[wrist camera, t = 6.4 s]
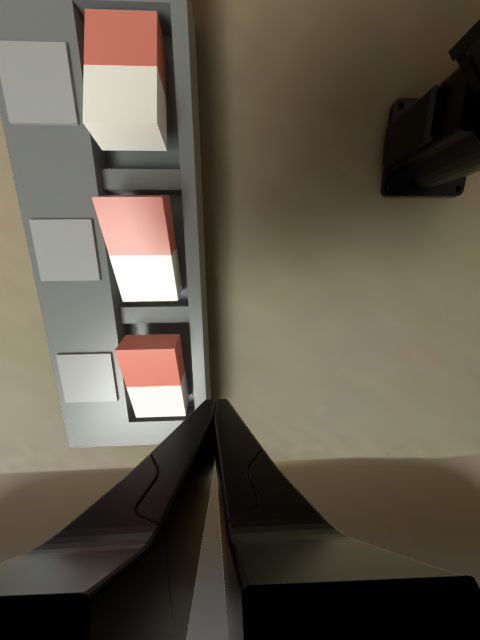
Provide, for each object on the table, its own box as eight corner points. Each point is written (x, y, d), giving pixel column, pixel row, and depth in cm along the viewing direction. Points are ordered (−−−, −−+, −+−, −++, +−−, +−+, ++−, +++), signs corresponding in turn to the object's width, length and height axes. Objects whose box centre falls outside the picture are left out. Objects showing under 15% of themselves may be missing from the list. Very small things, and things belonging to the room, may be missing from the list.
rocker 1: (166, 52, 14) (156, 10, 12) (166, 150, 14) (156, 123, 12) (103, 50, 14) (84, 8, 12) (102, 150, 14) (82, 122, 12)
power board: (195, 26, 16) (183, -54, 12) (211, 413, 22) (207, 444, 18) (29, 22, 15) (-40, -63, 11) (96, 417, 22) (67, 449, 18)
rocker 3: (179, 333, 16) (174, 348, 15) (189, 397, 19) (185, 415, 18) (125, 335, 16) (114, 350, 14) (143, 399, 19) (136, 417, 18)
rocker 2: (169, 195, 14) (161, 197, 13) (182, 290, 17) (178, 300, 16) (106, 194, 14) (91, 197, 12) (132, 290, 17) (122, 301, 16)
